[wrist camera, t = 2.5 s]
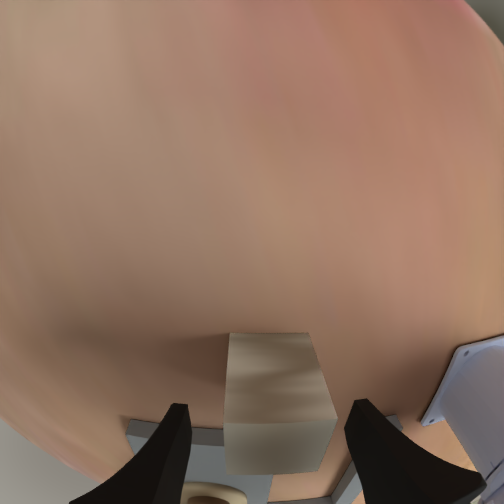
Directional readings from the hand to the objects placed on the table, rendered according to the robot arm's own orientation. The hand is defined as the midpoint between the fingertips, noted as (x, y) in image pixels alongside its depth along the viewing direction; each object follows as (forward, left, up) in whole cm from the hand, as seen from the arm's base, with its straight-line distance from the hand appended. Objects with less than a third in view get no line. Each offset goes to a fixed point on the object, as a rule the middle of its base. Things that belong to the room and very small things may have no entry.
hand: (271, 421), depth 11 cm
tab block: (0, 0, -4) cm, 4 cm away
